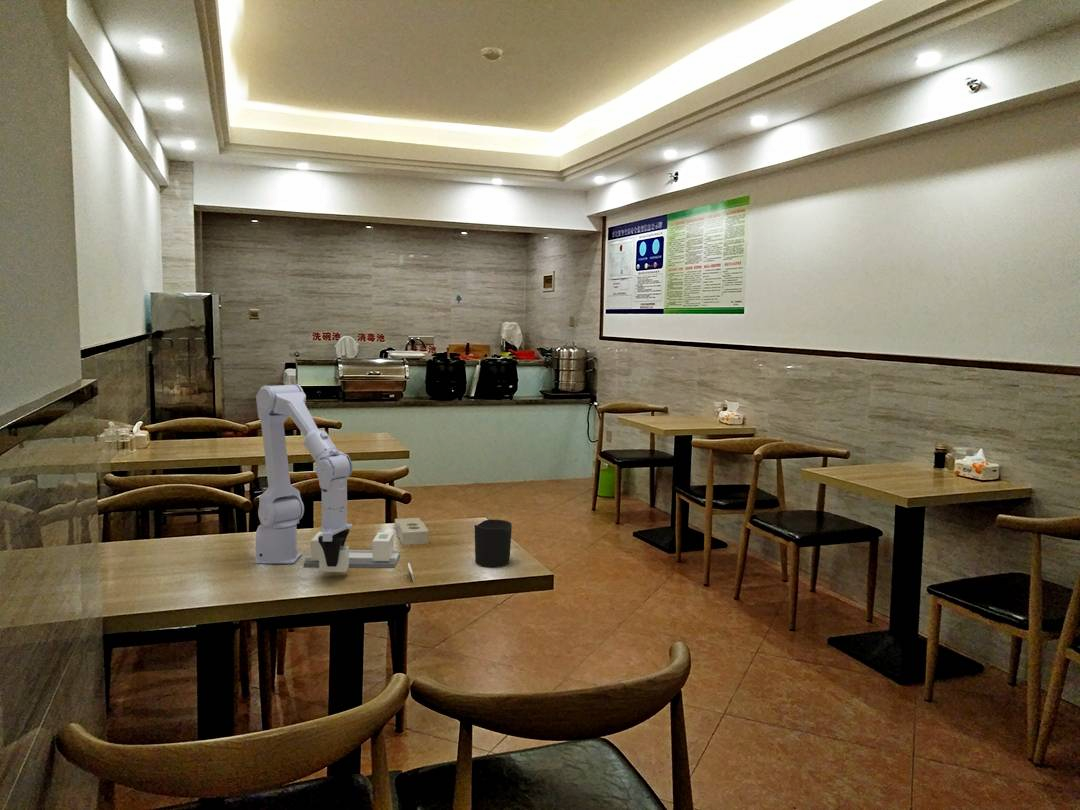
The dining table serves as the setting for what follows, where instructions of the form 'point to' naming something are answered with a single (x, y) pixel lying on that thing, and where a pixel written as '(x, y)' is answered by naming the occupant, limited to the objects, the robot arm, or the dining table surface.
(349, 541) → the dining table surface
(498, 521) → the pen holder
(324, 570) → the block
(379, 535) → the grey stepped base
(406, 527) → the electrical outlet
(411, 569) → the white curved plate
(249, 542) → the dining table surface
